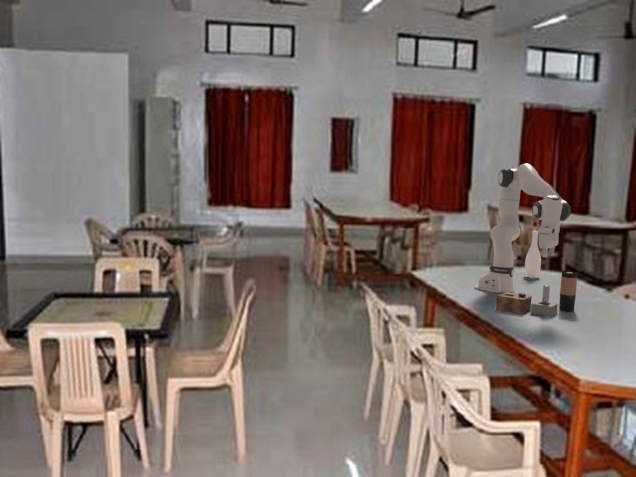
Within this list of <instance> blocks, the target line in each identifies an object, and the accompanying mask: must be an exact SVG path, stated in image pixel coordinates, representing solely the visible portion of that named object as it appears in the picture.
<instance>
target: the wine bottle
mask: <svg viewBox="0 0 636 477" xmlns="http://www.w3.org/2000/svg"><path fill="white" fill-rule="evenodd" d="M531 233H532V236H531V238H532V239H531V245H530V246H529V249H528V251H527V254H526V257H525V260H524V261H525V262H524V275H523V276H524V277H525V278H527V277H529V278H528V279H539V278H540V277H541V267H542V266H541V264H542V258H541V254H540V248H539V244H538V241H539V230H532V232H531Z"/></svg>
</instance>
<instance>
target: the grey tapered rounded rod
mask: <svg viewBox="0 0 636 477" xmlns="http://www.w3.org/2000/svg"><path fill="white" fill-rule="evenodd" d="M542 287H543V288H542V300H541V301H542V304H544V305H548V303H549V302H550V288H551V287H550V285H545V284H544V285H543V286H542Z"/></svg>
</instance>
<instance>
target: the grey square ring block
mask: <svg viewBox="0 0 636 477" xmlns="http://www.w3.org/2000/svg"><path fill="white" fill-rule="evenodd" d="M558 305H559V304H558V303H557V302H552V301H551V302H550V301H549V303H548V305H544V304H542V300H536V301H534V302H531V309H530V314H533V315H537V316H543V317H544V316H545V317H548V318H549V317H550V318H551V317H553V316H555V315H556V314H557V313H558V307H559V306H558Z"/></svg>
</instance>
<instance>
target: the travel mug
mask: <svg viewBox="0 0 636 477" xmlns="http://www.w3.org/2000/svg"><path fill="white" fill-rule="evenodd" d="M560 280H561V281H560V291H559V304H558V305H559V306H558V308H559V309H558V310H559V311H561V312H564V313H573V312H574V311H575V305H576V297H577V295H576V294H577V283H578V282H577V281H578V272H577V271H574V270H573V271H572V270H562V271H561V276H560Z"/></svg>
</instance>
